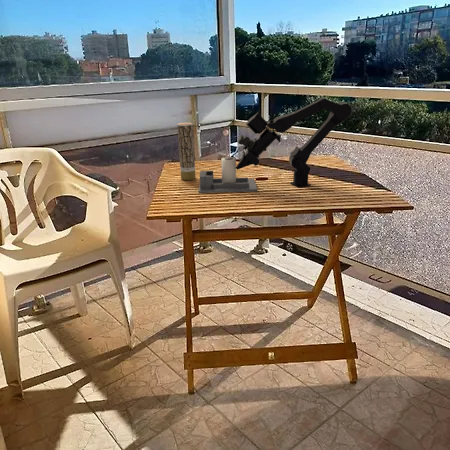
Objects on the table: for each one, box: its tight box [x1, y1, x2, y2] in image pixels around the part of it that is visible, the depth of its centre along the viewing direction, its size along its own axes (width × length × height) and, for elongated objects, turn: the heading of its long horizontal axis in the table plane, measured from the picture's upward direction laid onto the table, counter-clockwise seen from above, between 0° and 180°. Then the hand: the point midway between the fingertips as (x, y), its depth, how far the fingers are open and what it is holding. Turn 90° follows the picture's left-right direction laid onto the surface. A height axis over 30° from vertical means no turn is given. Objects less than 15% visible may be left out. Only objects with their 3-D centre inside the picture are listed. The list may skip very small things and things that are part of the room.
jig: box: [198, 170, 258, 194], centre depth 170 cm, size 24×16×6 cm, turn 91°
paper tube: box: [176, 122, 197, 181], centre depth 179 cm, size 7×7×25 cm
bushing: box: [220, 156, 237, 183], centre depth 168 cm, size 6×6×11 cm
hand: (236, 168), depth 168 cm, fingers closed, pressing on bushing
